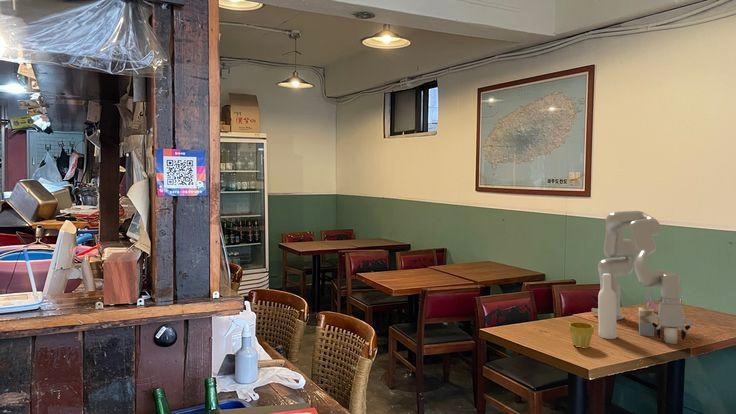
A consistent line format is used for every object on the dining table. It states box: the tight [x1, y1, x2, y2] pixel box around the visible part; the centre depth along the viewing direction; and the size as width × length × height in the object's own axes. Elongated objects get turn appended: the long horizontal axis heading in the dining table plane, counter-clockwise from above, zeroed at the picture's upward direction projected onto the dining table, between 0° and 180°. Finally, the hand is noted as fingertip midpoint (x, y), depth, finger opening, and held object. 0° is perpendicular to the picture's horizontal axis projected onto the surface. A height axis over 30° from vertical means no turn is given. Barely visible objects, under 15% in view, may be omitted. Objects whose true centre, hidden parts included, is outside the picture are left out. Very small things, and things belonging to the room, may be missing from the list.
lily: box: [643, 292, 659, 314], centre depth 281 cm, size 12×12×10 cm
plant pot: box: [568, 321, 595, 347], centre depth 228 cm, size 10×10×10 cm
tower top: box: [638, 306, 655, 324], centre depth 242 cm, size 6×6×6 cm
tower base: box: [638, 321, 655, 337], centre depth 242 cm, size 6×6×6 cm
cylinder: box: [663, 326, 679, 345], centre depth 229 cm, size 5×5×7 cm
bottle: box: [597, 274, 618, 340], centre depth 240 cm, size 8×8×30 cm
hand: (670, 338), depth 230 cm, fingers open, 8 cm apart
